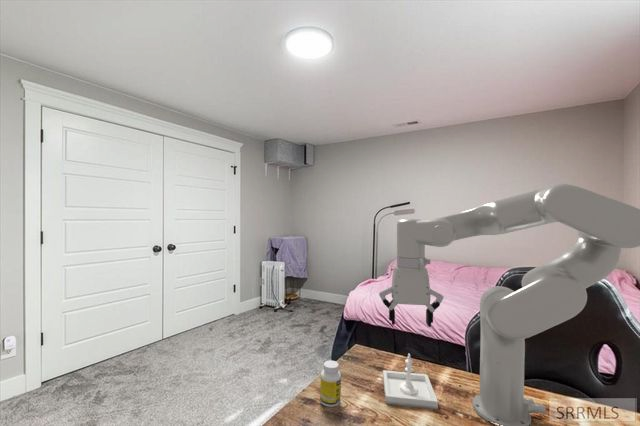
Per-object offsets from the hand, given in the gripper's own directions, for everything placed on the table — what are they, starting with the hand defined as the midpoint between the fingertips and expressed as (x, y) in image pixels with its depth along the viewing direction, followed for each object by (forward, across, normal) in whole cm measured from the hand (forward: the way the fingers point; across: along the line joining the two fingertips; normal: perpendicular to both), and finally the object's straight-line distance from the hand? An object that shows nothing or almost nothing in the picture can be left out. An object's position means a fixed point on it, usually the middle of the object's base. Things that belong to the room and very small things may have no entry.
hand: (410, 324), depth 83 cm
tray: (+19, +1, 0) cm, 19 cm away
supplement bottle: (+19, +22, +8) cm, 30 cm away
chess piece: (+19, +1, 0) cm, 19 cm away
